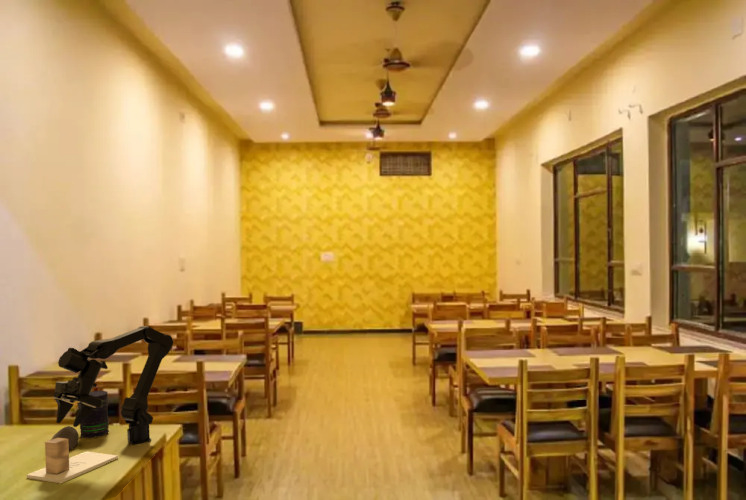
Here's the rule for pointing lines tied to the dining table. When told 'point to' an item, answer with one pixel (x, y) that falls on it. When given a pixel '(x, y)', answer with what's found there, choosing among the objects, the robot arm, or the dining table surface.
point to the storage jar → (96, 418)
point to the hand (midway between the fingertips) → (66, 424)
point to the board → (75, 467)
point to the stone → (68, 436)
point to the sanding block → (57, 456)
